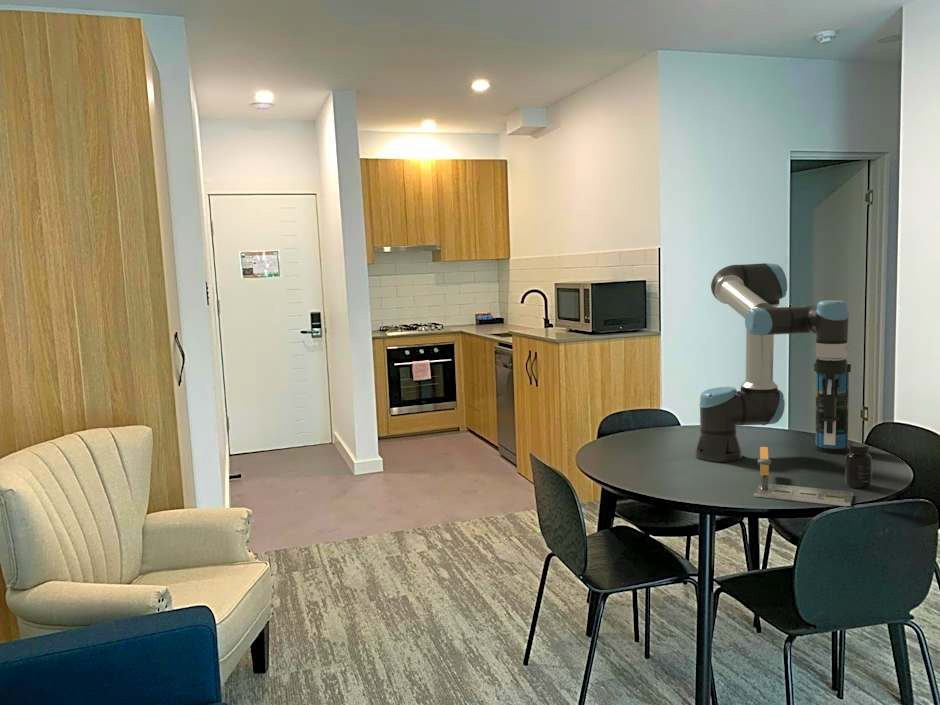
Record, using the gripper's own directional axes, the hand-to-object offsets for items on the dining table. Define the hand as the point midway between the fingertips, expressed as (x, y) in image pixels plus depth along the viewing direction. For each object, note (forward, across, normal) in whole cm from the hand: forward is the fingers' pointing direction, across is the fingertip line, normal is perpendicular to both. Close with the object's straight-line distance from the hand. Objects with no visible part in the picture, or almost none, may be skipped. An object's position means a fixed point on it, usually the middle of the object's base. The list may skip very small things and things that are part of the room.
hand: (829, 444), depth 200 cm
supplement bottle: (+15, +15, -7) cm, 22 cm away
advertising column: (+16, +58, +3) cm, 60 cm away
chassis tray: (+15, -1, +6) cm, 16 cm away
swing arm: (+10, +8, +18) cm, 22 cm away
